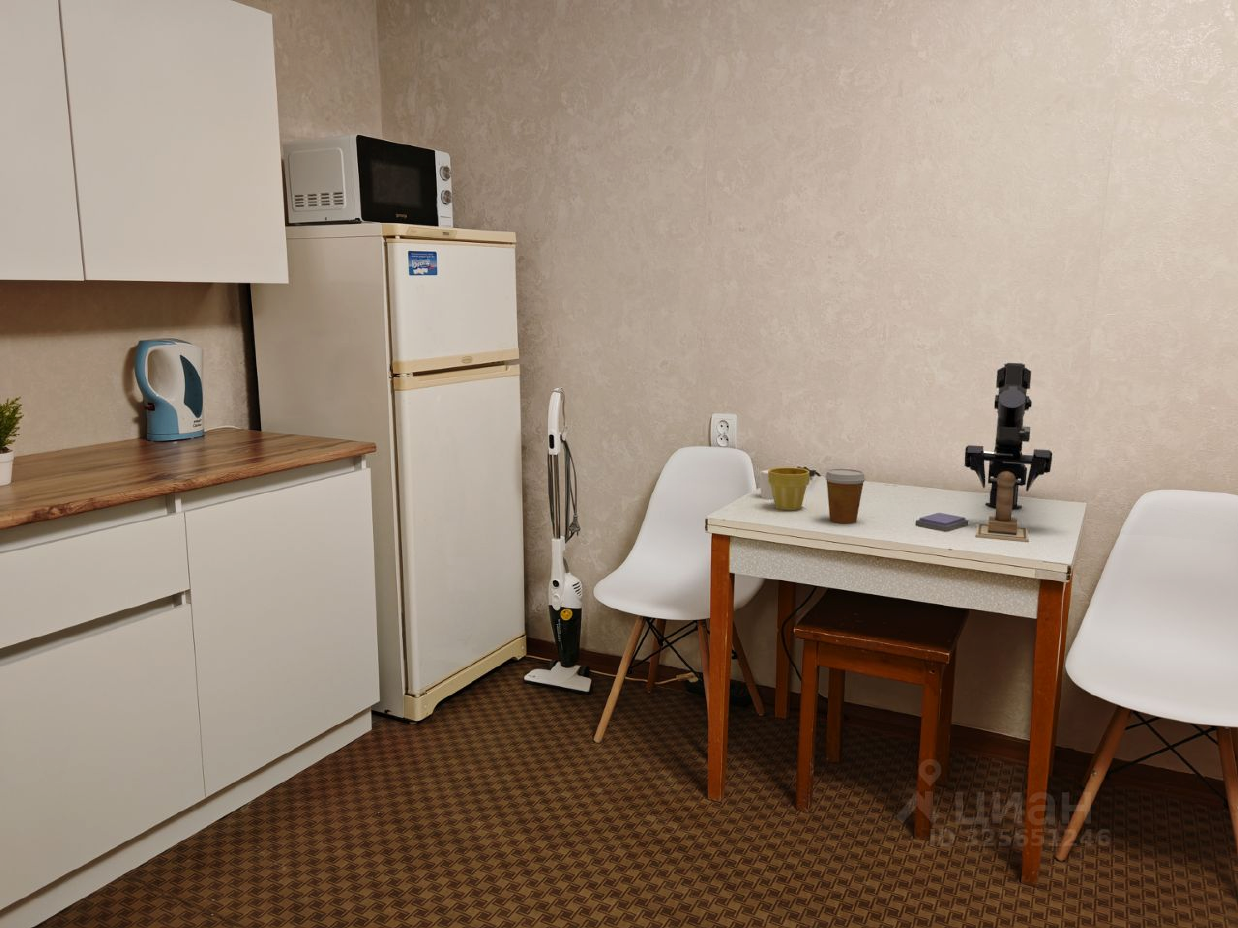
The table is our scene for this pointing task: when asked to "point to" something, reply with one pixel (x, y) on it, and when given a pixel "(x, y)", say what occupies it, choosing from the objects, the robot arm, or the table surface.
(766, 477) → the white cube
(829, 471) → the disposable coffee cup
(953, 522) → the ink pad
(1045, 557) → the table surface
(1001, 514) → the stamp
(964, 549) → the table surface
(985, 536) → the beige square tile
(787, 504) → the plant pot
